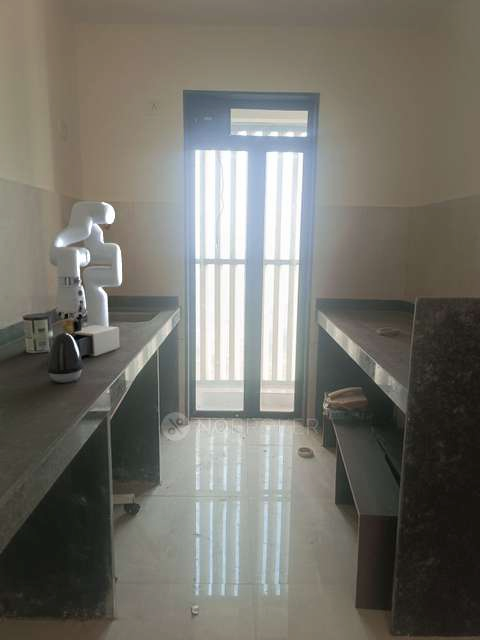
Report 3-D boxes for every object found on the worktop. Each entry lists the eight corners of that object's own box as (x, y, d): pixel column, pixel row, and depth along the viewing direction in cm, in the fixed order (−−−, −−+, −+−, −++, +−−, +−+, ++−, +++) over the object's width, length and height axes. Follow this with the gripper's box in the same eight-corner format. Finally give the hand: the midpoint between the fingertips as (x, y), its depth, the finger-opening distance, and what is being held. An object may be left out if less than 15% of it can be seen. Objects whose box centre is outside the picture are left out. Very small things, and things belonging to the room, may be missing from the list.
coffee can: (41, 345, 173) (39, 312, 170) (59, 348, 169) (57, 314, 166) (19, 351, 164) (16, 316, 161) (38, 354, 159) (35, 318, 157)
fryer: (94, 356, 158) (93, 334, 156) (69, 352, 162) (67, 331, 161) (119, 347, 171) (118, 327, 169) (95, 344, 176) (94, 324, 174)
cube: (63, 331, 153) (62, 319, 153) (72, 329, 158) (71, 317, 157) (72, 332, 152) (71, 320, 151) (81, 330, 156) (80, 318, 155)
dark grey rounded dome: (90, 377, 133) (88, 330, 130) (67, 387, 124) (64, 337, 121) (65, 373, 136) (62, 328, 134) (40, 383, 127) (36, 334, 124)
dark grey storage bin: (64, 363, 145) (63, 344, 144) (40, 359, 149) (38, 341, 148) (102, 350, 162) (101, 333, 161) (79, 347, 167) (78, 331, 165)
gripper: (94, 282, 152) (97, 330, 155) (59, 280, 158) (62, 327, 161) (79, 283, 145) (82, 334, 148) (43, 281, 151) (47, 330, 154)
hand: (72, 330), depth 155 cm, fingers closed on cube, 4 cm apart
